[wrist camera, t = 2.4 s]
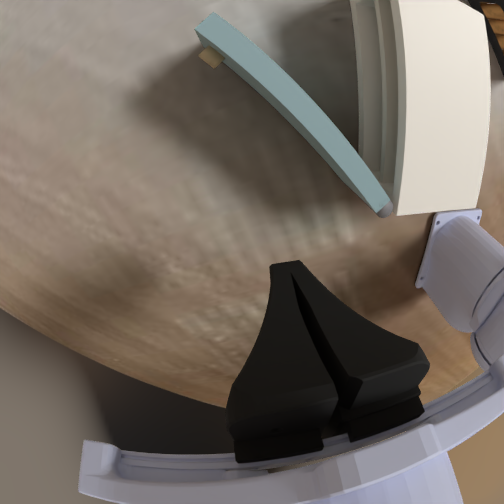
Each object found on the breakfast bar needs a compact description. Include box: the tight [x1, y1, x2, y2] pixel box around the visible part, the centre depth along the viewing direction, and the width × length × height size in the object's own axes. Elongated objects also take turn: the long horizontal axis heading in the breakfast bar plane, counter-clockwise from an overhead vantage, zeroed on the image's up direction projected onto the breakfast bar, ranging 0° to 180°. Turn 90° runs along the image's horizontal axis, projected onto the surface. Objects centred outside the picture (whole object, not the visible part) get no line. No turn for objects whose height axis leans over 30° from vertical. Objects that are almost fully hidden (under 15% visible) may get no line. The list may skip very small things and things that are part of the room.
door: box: [195, 12, 393, 218], centre depth 14 cm, size 14×2×6 cm, turn 46°
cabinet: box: [350, 0, 491, 216], centre depth 13 cm, size 15×8×6 cm, turn 6°
